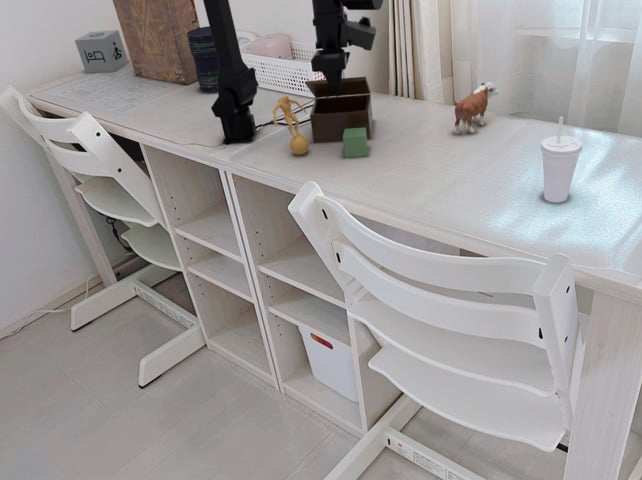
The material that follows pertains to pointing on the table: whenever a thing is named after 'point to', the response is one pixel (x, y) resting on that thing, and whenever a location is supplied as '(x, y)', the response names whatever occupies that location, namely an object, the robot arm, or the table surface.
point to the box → (340, 116)
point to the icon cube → (101, 51)
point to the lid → (347, 87)
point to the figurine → (297, 142)
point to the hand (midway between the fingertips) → (337, 93)
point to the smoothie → (559, 164)
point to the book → (159, 37)
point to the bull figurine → (474, 106)
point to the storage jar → (204, 58)
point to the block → (355, 142)
